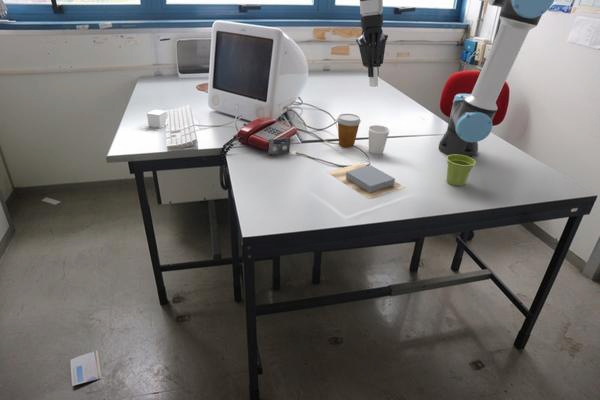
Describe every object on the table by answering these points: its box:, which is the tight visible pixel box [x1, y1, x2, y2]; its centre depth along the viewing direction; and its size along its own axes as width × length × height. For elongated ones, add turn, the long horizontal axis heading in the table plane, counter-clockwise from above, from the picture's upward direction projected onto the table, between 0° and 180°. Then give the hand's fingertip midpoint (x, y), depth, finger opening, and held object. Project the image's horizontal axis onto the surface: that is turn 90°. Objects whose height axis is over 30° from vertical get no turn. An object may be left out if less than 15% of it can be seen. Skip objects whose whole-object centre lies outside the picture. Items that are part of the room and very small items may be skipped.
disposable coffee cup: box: [336, 113, 362, 149], centre depth 166 cm, size 10×10×12 cm
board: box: [326, 162, 405, 200], centre depth 140 cm, size 22×16×1 cm
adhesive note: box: [146, 109, 169, 129], centre depth 179 cm, size 6×6×6 cm
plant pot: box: [446, 154, 477, 187], centre depth 141 cm, size 9×9×9 cm
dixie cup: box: [367, 124, 391, 155], centre depth 160 cm, size 8×8×10 cm
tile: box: [346, 164, 396, 193], centre depth 138 cm, size 3×11×12 cm
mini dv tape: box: [267, 136, 291, 156], centre depth 158 cm, size 8×2×6 cm, turn 111°
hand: (373, 86), depth 147 cm, fingers closed
